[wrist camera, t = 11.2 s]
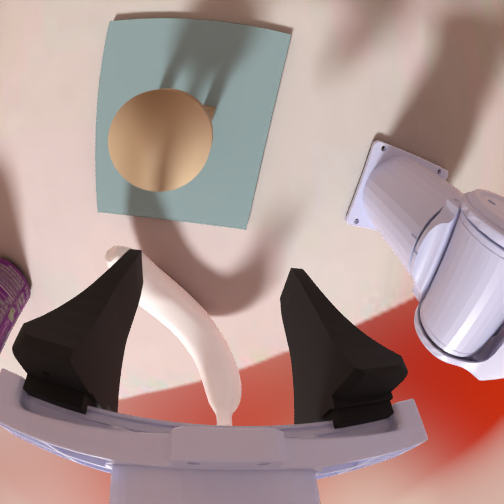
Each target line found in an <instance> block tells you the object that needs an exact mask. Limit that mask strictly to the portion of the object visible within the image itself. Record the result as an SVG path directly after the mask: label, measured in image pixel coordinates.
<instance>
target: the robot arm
mask: <svg viewBox="0 0 504 504" xmlns="http://www.w3.org/2000/svg"><path fill="white" fill-rule="evenodd" d="M382 146H384V150H381V148H382ZM438 170H439V171H438ZM437 171H438V172H437ZM448 174H449V173H448V171H447V170H446V169H444V168H442V167H440V166H438V165H436V164H434V163H432V162H430V161H427V160H425V159H423V158H421V157H419V156H416V155H414V154H412V153H409V152H407V151H405V150H402V149H400V148H397V147H395V146H392V145H390V144H387V143H385V142H382V141H379V140H376V141H374V142H373V144H372V147H371V150H370V153H369V156H368V159H367V161H366V164H365V167H364V170H363V173H362V176H361V179H360V181H359V184H358V187H357V190H356V192H355V195H354V198H353V200H352V203H351V206H350V208H349V211H348V213H347V216H346V222H347V223H348V224H349V225H353V226H358V227H363V228H368V229H373V230H377V231H378V232H379V233H380V234H381V236H382V237H383V238H384V240H385V241H386V242H387V244H388V245H389V246H390V248H391V249H392V250H393V252H394V253H395V254H396V256H397V257H398V258H399V260H400V261H401V263H402V264H403V265H404V267H405V268H406V270H407V271H408V273H409V274H410V275H411V277H412V278H413V280H414V287H413V290H412V292H413V293H414V295H415V296H416V298H417V300H418V301H419V305H418V307H417V309H416V311H415V316H414V323H415V328H416V331H417V334H418V336H419V338H420V340H421V342H422V343H423V344H424V346H425V347H426V348H427V349H428V350H429V351H430V352H431V353H432V354H433V355H435V356H436V357H437V358H439V359H440V360H442V361H444V362H447V363H450V364H453V365H457V366H460V367H463V368H464V369H466V370H468V371H469V372H470V373H472V374H473V375H474V376H475V377H476V378H478V379H479V380H493V379H500V378H504V197H502V196H500V195H498V194H495V193H493V192H490V191H486V190H482V189H477V190H474V191H472V192H467V193H465V194H463V193H462V192H461V191H459V190H458V189H457V188H455V187H454V186H452V185H451V184H450V183H448V182H447V181H446V180H447V178H448ZM355 219H358V220H357V221H356V222H354V220H355ZM142 287H143V269H142V250H134V249H129V250H128V251H127V252H126V253H125V254H124V255H123V256H122V257H120V258H119V259H118V260H117V261H116V262H115V263H114V264H113V265H112V266H111V267H110V268H109V269H108V270H107V271H106V272H105V273H104V274H103V275H102V276H101V277H100V278H98V279H97V280H96V281H95V282H94V283H93V284H92V285H90V286H89V287H88V288H87V289H85V290H84V291H83V292H81V293H80V294H79V295H77V296H76V297H74V298H73V299H71V300H70V301H68V302H66V303H65V304H63V305H62V306H60V307H58V308H57V309H55V310H53V311H51V312H49V313H47V314H45V315H43V316H41V317H38V318H36V319H34V320H31V321H29V322H26V323H24V324H23V326H22V328H21V330H20V332H19V334H18V336H17V338H16V340H15V342H14V344H13V347H12V351H13V354H14V356H15V358H16V359H17V361H18V362H19V363H20V365H21V366H22V367H23V369H24V370H25V371H26V373H27V377H26V380H25V379H24V378H23V377H21V376H19V375H17V374H15V373H12V372H10V371H8V370H6V369H2V370H1V372H0V425H1V426H2V427H4V428H5V429H6V430H8V431H9V432H11V433H12V434H13V435H15V436H17V437H19V438H21V439H23V440H25V441H27V442H29V443H31V444H34V445H35V446H38V447H40V448H42V449H44V450H47V451H49V452H51V453H54V454H56V455H58V456H61V457H63V458H66V459H69V460H71V461H74V462H77V463H79V464H82V465H86V466H88V467H92V468H95V469H98V470H101V471H104V472H108V473H111V485H110V502H109V503H110V504H320V498H319V492H318V486H317V480H316V479H321V478H324V477H329V476H334V475H338V474H341V473H346V472H349V471H353V470H356V469H360V468H363V467H366V466H370V465H373V464H376V463H379V462H382V461H385V460H388V459H391V458H394V457H397V456H399V455H401V454H403V453H405V452H407V451H408V450H410V449H412V448H414V447H416V446H418V445H419V444H421V443H423V442H425V441H427V439H428V438H427V435H426V432H425V429H424V426H423V423H422V420H421V417H420V415H419V412H418V409H417V406H416V404H415V401H414V399H409V400H406V401H401V402H398V403H395V404H393V405H391V403H390V400H391V399H392V398H393V396H392V393H391V391H392V390H394V388H396V387H397V386H398V385H399V384H400V383H401V382H402V381H403V380H404V379H405V377H406V376H407V373H408V370H407V368H406V366H405V363H404V361H403V359H402V357H401V356H400V355H398V354H396V353H394V352H393V351H391V350H389V349H387V348H385V347H384V346H382V345H380V344H379V343H377V342H376V341H374V340H373V339H371V338H370V337H368V336H367V335H366V334H364V333H363V332H362V331H360V330H359V329H358V328H357V327H356V326H354V325H353V324H352V323H351V322H350V321H349V320H348V319H347V318H345V317H344V316H343V315H342V314H341V313H340V312H339V311H338V310H337V309H336V308H335V307H334V305H333V304H332V303H331V302H330V301H329V300H328V299H327V298H326V297H325V295H324V294H323V293H322V292H321V291H320V289H319V288H318V287H317V286H316V285H315V283H314V282H313V281H312V280H311V278H310V277H309V276H308V275H307V274H306V272H305V271H304V270H303V269H297V268H291V270H290V272H289V275H288V278H287V281H286V283H285V286H284V289H283V292H282V294H281V297H280V302H281V314H282V320H283V324H284V329H285V333H286V337H287V342H288V346H289V351H290V356H291V363H292V373H293V386H294V409H295V410H294V425H278V426H217V425H215V426H214V425H200V424H188V423H178V422H170V421H162V420H155V419H148V418H141V417H137V416H131V415H126V414H120V413H117V412H118V395H119V385H120V376H121V369H122V362H123V356H124V350H125V345H126V341H127V337H128V334H129V331H130V328H131V325H132V322H133V319H134V316H135V313H136V310H137V307H138V304H139V301H140V297H141V292H142Z"/></svg>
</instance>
